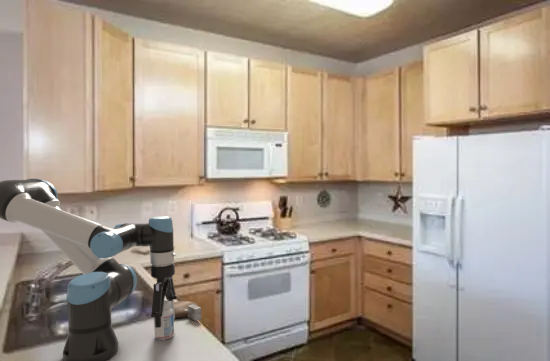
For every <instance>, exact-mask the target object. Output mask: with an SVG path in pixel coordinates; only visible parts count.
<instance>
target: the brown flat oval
mask: <svg viewBox="0 0 550 361" xmlns="http://www.w3.org/2000/svg"><path fill="white" fill-rule="evenodd" d="M174 311H175V319H179V318H180V319H181V318H186V317H187V318H189V319H191V320H193V321H199V320H202V307H201V306H199V305H198V303H196V302H194V301H189V300H180V301H174Z"/></svg>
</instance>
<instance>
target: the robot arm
mask: <svg viewBox="0 0 550 361" xmlns="http://www.w3.org/2000/svg"><path fill="white" fill-rule="evenodd" d="M60 206H61V201H60V200H59V196H58V190H57V189H56V187H55V186H54V185H53V184H52V183H51V182H49V181H48V180H46V179H39V178H28V179H27V178H26V179H7V180H6V179H4V180H2V181H0V219H1V220H3V221H6V222H10V223H11V224H15V223H22V224H25V225H27V226H30V227H33V228H35V229H38V230H41V231H42V232H43V233H44V234H45V235H46V236H47V238H48V239H49V240H50V241H51V242H52V243H53V244H54V245H55V246H56V247H57V248H58V249H59V250H60V251H61V253H63V254H64V255H65V257H66V258H67V259H68V260H69V261H70V262H71V263H72V264H73V265H74V266H75V267H76V268H77V270H78V271H80V273H81V274H80V275H78V276H76V277H74V278H73V279H72V280H70V281H69V282H68V284H67V288H66V289H67V291H66V292H67V293H66V300H67V321H68V323H67V324H68V333H67V337H66V340H65V344H64V347H63V350H62V361H107V360H109V359H111V358H112V357H113V356H115V355H116V354H118V351H119V340H118V337H117V335H116V333H115V330H114V328H113V325H112V309H113V308H115V307H116V306H118V305H119V304H121V303H122V302H124V301H126V300H127V299H128V298H129V297H130V296H131V295H133V293H134V292H135V290H136V289H137V283H138V282H137V281H138V277H137V275H136V272H135V270H134V269H133V268H132V267H131V266H130V265H128V264H123V263H119V262H118V261H117V260H116V259H115V258H114V256H116V255H119V254H120V253H122V252H125V251H128V250H130V249H131V248H134V247H149V254H150V255H149V257H150V261H149V262H150V264H151V266H150V276H151V277H152V278H154V279H156V282H155V283H153V295H152V305H151V314H150V317H151V318H153V324H154V338H156V337H164V320H163V315H162V312H163V305H164V301H170V302H171V307H170V308H172V309H173V316H174V320H175V319H176V318H175V311H174V302H175V300H177V295H176V289H175V284H174V279H173V276H174V275H175V273H176V269H175V266H176V265H175V263H174V262H175V257H176V255H177V254H176V253H175V252H174V251H175V247H174V243H175V242H174V225H173V224H174V223H173V219H172V217H170V216H168V215H167V216H163V215H162V216H161V215H160V216H152V217H150V218H149V220H148V222H147V223H129V222H127V223H117V224H116V225H115V226H114V227H113V228H111V227H108V226H106V225H103V224H101V223H98V222H95V221H93V220H90V219H87V218H84V217H82V216H79V215H76V214H73V213H70V212H68V211H65V210H63V209H61V208H60ZM165 299H166V300H165ZM156 312H158V313H156Z"/></svg>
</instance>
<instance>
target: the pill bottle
mask: <svg viewBox="0 0 550 361" xmlns="http://www.w3.org/2000/svg"><path fill="white" fill-rule="evenodd" d="M170 307H171V302H170V301H166V300H164V305H163V312H162V315H163V320H164V337H155V339H157V340H161V341H162V340H164V341H165V340H168V339H171V338H172V337H174V335H175V321H174V320H175V319H174V316H173V309H172V308H170ZM156 313H158V312H156Z"/></svg>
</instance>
